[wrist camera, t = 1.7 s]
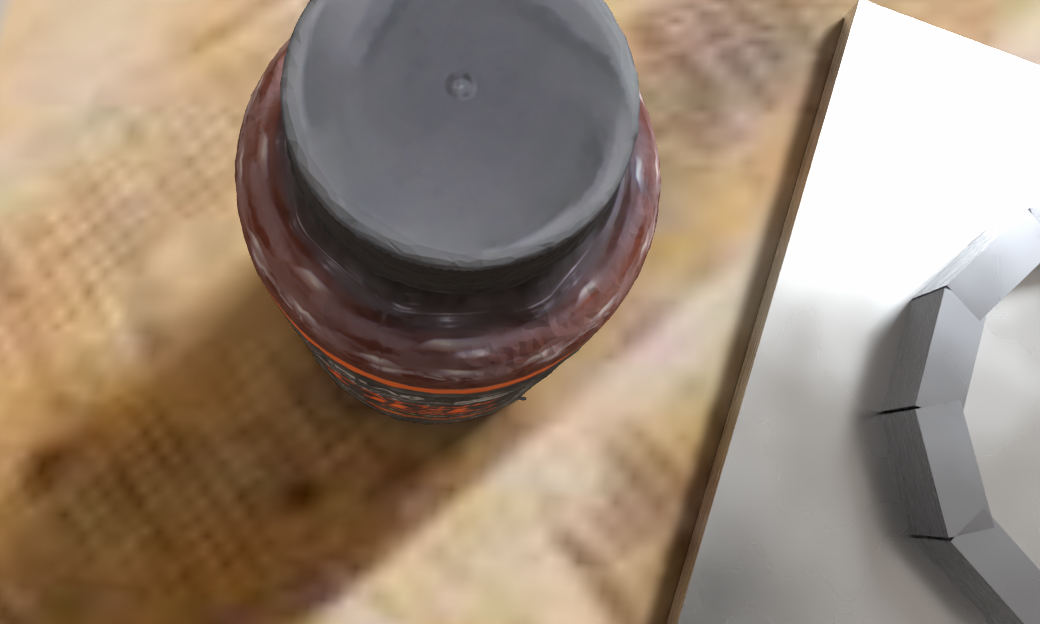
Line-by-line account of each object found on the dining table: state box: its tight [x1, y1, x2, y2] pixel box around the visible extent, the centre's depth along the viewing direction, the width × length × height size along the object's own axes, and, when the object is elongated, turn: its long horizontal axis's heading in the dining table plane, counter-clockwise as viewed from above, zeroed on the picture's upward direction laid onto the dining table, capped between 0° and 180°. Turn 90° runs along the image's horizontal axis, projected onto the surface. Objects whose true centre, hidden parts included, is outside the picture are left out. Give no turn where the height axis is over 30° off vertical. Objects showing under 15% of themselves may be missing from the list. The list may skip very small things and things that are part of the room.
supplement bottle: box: [235, 0, 661, 424], centre depth 16 cm, size 6×6×11 cm
